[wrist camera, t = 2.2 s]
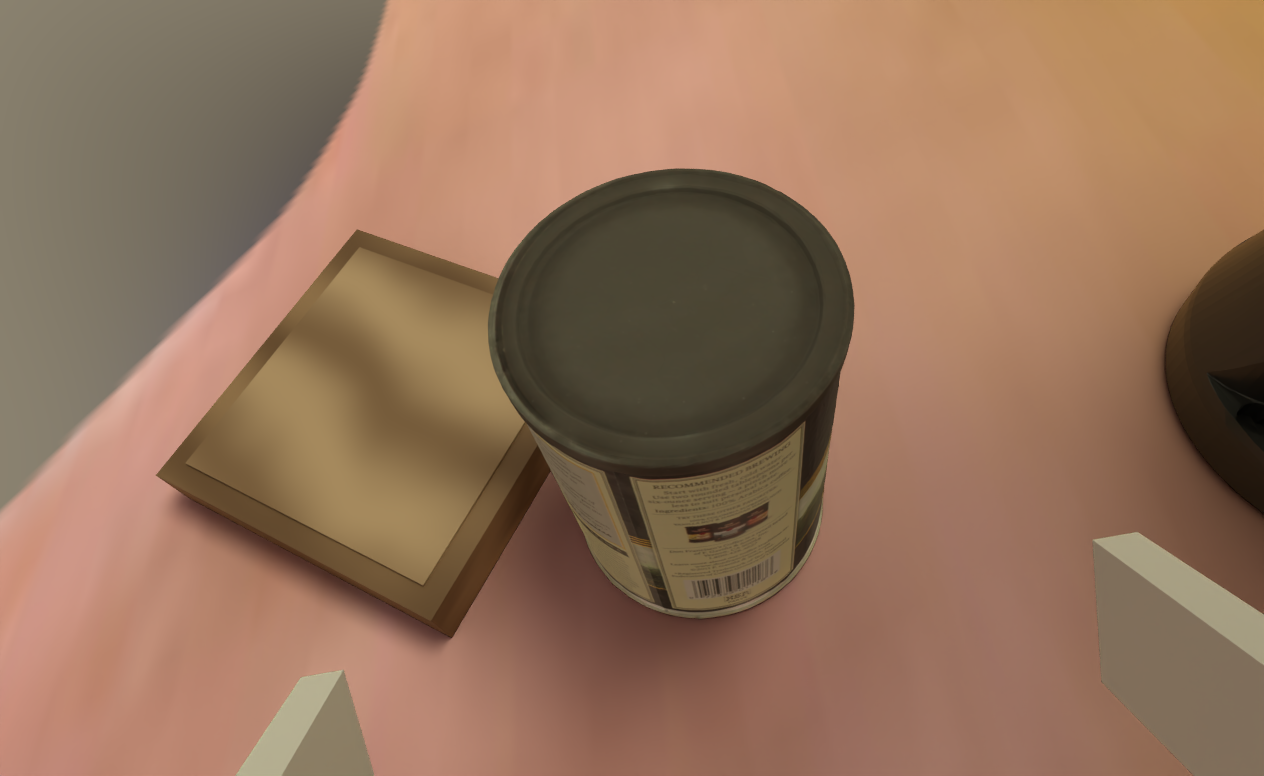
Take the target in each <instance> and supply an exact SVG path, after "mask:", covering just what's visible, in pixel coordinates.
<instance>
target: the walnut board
mask: <svg viewBox="0 0 1264 776" xmlns="http://www.w3.org/2000/svg"><path fill="white" fill-rule="evenodd" d="M497 281H498V278H496V277H493V276H490V275H487V274H484V273H481V272H478V271H475V270H472V269H470V268H467V267H464V266H461V265H458V264H455V263H452V262H449V261H447V260H444V259H441V258H438V257H435V256H432V255H429V254H426V253H423V252H421V251H418V250H415V249H412V248H409V247H406V246H403V245H400V244H398V243H395V242H392V241H389V240H386V239H383V238H380V237H377V236H374V235H372V234H369V233H366V232H363V231H360V230H356V231H355V232H354V234H353V235H352V236H351V237H350V239H349V240H348V241H347V242H346V243H345V245H344V246H343V247H342V248H341V250H340V251H339V252H338V253H337V254H336V256H335V257H334V258H333V259H332V261H331V262H330V263H329V264H328V265H327V267H326V268H325V269H324V270H323V272H322V273H321V274H320V275H319V276H318V278H317V279H316V280H315V281H314V283H313V284H312V285H311V286H310V287H309V289H308V290H307V291H306V292H305V294H304V295H303V296H302V297H301V298H300V300H299V301H298V302H297V303H296V305H295V306H294V307H293V308H292V310H291V311H290V312H289V313H288V314H287V316H286V317H285V318H284V319H283V321H282V322H281V323H280V324H279V325H278V327H277V328H276V329H275V330H274V332H273V333H272V334H271V335H270V336H269V338H268V339H267V340H266V341H265V343H264V344H263V345H262V346H261V347H260V349H259V350H258V351H257V352H256V354H255V355H254V356H253V357H252V358H251V360H250V361H249V362H248V363H247V365H246V366H245V367H244V368H243V369H242V371H241V372H240V373H239V374H238V376H237V377H236V378H235V379H234V380H233V382H232V383H231V384H230V385H229V387H228V388H227V389H226V390H225V391H224V393H223V394H222V395H221V396H220V398H219V399H218V400H217V401H216V402H215V404H214V405H213V406H212V407H211V409H210V410H209V411H208V412H207V413H206V415H205V416H204V417H203V418H202V420H201V421H200V422H199V423H198V424H197V426H196V427H195V428H194V429H193V431H192V432H191V433H190V434H189V435H188V437H187V438H186V439H185V440H184V442H183V443H182V444H181V445H180V446H179V448H178V449H177V450H176V451H175V453H174V454H173V455H172V456H171V457H170V459H169V460H168V461H167V462H166V464H165V465H164V466H163V467H162V468H161V470H160V471H159V472H158V473H157V475H156V476H158V477H159V478H161V479H162V480H163V481H165V482H166V483H168V484H169V485H171V486H172V487H174V488H175V489H177V490H178V491H180V492H181V493H183V494H184V495H185V496H187V497H188V498H190V499H192V500H194V501H196V502H198V503H199V504H201V505H203V506H205V507H207V508H209V509H211V510H213V511H214V512H216V513H218V514H220V515H222V516H224V517H226V518H228V519H229V520H231V521H233V522H235V523H237V524H239V525H241V526H243V527H244V528H246V529H248V530H250V531H252V532H254V533H256V534H258V535H259V536H261V537H263V538H265V539H267V540H269V541H271V542H273V543H274V544H276V545H278V546H280V547H282V548H284V549H286V550H288V551H289V552H291V553H293V554H295V555H297V556H299V557H301V558H303V559H304V560H306V561H308V562H310V563H312V564H314V565H316V566H318V567H320V568H321V569H323V570H325V571H327V572H329V573H331V574H333V575H335V576H336V577H338V578H340V579H342V580H344V581H346V582H348V583H350V584H351V585H353V586H355V587H357V588H359V589H361V590H363V591H365V592H366V593H368V594H370V595H372V596H374V597H376V598H378V599H380V600H381V601H383V602H385V603H387V604H389V605H391V606H393V607H395V608H396V609H398V610H400V611H402V612H404V613H406V614H408V615H410V616H411V617H413V618H415V619H417V620H419V621H421V622H423V623H425V624H426V625H428V626H430V627H432V628H434V629H436V630H438V631H440V632H442V633H443V634H445V635H447V636H449V637H451V638H452V637H453V635H454V633H455V632H456V630H457V628H458V626H459V625H460V623H461V621H462V620H463V618H464V616H465V615H466V613H467V611H468V609H469V608H470V606H471V604H472V603H473V601H474V599H475V598H476V596H477V594H478V593H479V591H480V589H481V587H482V586H483V584H484V582H485V581H486V579H487V577H488V576H489V574H490V572H491V570H492V569H493V567H494V565H495V564H496V562H497V560H498V559H499V557H500V555H501V554H502V552H503V550H504V548H505V547H506V545H507V543H508V542H509V540H510V538H511V537H512V535H513V533H514V531H515V530H516V528H517V526H518V525H519V523H520V521H521V520H522V518H523V516H524V515H525V513H526V511H527V509H528V508H529V506H530V504H531V503H532V501H533V499H534V498H535V496H536V494H537V492H538V491H539V489H540V487H541V486H542V484H543V482H544V481H545V479H546V477H547V476H548V474H549V472H550V470H551V469H550V467H549V466H548V464H547V462H546V460H545V458H544V456H543V454H542V452H541V450H540V448H539V446H538V444H537V443H536V441H535V439H534V437H533V435H532V433H531V431H530V429H529V427H528V425H527V423H526V422H525V421H524V420H523V419H522V418H521V416H520V415H519V414H518V412H517V411H516V409H515V408H514V406H513V405H512V403H511V402H510V400H509V398H508V396H507V395H506V393H505V392H504V390H503V388H502V386H501V384H500V382H499V379H498V377H497V375H496V373H495V370H494V367H493V364H492V360H491V356H490V350H489V343H488V317H489V311H490V305H491V299H492V297H493V294H494V290H495V286H496V284H497Z"/></svg>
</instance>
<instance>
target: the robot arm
mask: <svg viewBox="0 0 1264 776" xmlns="http://www.w3.org/2000/svg"><path fill="white" fill-rule="evenodd" d="M1166 375H1167V382H1168V387H1169V391H1170V395H1171V398H1172V401H1173V404H1174V407H1175V409H1176V412H1177V414H1178V416H1179V418H1180V420H1181V422H1182V424H1183V426H1184V428H1185V430H1186V432H1187V433H1188V435H1189V437H1190V438H1191V440H1192V441H1193V443H1194V444H1195V446H1196V447H1197V449H1198V450H1199V452H1200V453H1201V454H1202V455H1203V457H1204V458H1205V459H1206V460H1207V462H1208V463H1209V464H1210V465H1211V466H1212V467H1213V469H1214V470H1215V471H1216V472H1217V473H1218V474H1219V475H1220V476H1221V477H1222V478H1223V479H1224V480H1225V481H1226V482H1227V483H1228V484H1229V485H1230V486H1231V487H1232V488H1233V489H1234V490H1235V491H1237V492H1238V493H1239V494H1240V495H1241V496H1242V497H1243V498H1245V499H1246V500H1247V501H1248V502H1250V503H1251V504H1252V505H1254V506H1255V507H1256V508H1257V509H1259V510H1260V511H1262V512H1263V513H1264V230H1262V231H1261V232H1259V233H1257V234H1256V235H1254V236H1252V237H1251V238H1249V239H1247V240H1246V241H1244V242H1242V243H1241V244H1239V245H1237V246H1236V247H1234V248H1233V249H1232V250H1230V251H1229V252H1228V253H1227V254H1225V255H1224V256H1223V257H1222V258H1221V259H1220V260H1219V261H1218V262H1217V263H1216V264H1214V265H1213V266H1212V267H1211V268H1210V270H1209V271H1208V272H1207V273H1206V274H1205V275H1204V277H1203V278H1202V279H1201V281H1200V282H1199V284H1198V285H1197V286H1196V288H1195V289H1194V290H1193V292H1192V293H1191V295H1190V296H1189V297H1188V299H1187V300H1186V301H1185V303H1184V304H1183V306H1182V307H1181V308H1180V310H1179V312H1178V314H1177V316H1176V317H1175V320H1174V322H1173V324H1172V327H1171V330H1170V333H1169V336H1168V341H1167V347H1166ZM1092 541H1093V557H1094V572H1095V588H1096V604H1097V620H1098V636H1099V652H1100V667H1101V682H1102V683H1103V684H1104V685H1105V686H1106V687H1107V688H1108V689H1109V690H1110V691H1111V692H1112V693H1113V694H1114V695H1115V696H1116V697H1117V698H1118V699H1119V700H1120V701H1121V702H1122V703H1123V704H1124V705H1125V706H1126V707H1127V708H1128V709H1129V710H1130V711H1131V712H1132V714H1133V715H1134V716H1135V717H1136V718H1137V719H1138V720H1139V721H1140V722H1141V723H1142V724H1143V725H1144V726H1145V727H1146V728H1147V729H1148V730H1149V731H1150V732H1151V733H1152V734H1153V735H1154V736H1155V737H1156V738H1157V739H1158V740H1159V741H1160V742H1161V743H1162V744H1163V745H1164V746H1165V747H1166V748H1167V749H1168V750H1169V751H1170V752H1171V753H1172V754H1173V755H1174V756H1175V757H1176V758H1177V759H1178V760H1179V761H1180V762H1181V763H1182V764H1183V765H1184V766H1185V767H1186V768H1187V769H1188V770H1189V771H1190V772H1191V773H1192V774H1193V775H1194V776H1264V614H1262V613H1261V612H1259V611H1258V610H1256V609H1255V608H1253V607H1251V606H1250V605H1248V604H1247V603H1245V602H1244V601H1242V600H1241V599H1239V598H1238V597H1236V596H1235V595H1233V594H1232V593H1230V592H1228V591H1227V590H1225V589H1224V588H1222V587H1221V586H1219V585H1218V584H1216V583H1215V582H1213V581H1212V580H1210V579H1209V578H1207V577H1206V576H1204V575H1202V574H1201V573H1199V572H1198V571H1196V570H1195V569H1193V568H1192V567H1190V566H1189V565H1187V564H1186V563H1184V562H1183V561H1181V560H1179V559H1178V558H1176V557H1175V556H1173V555H1172V554H1170V553H1169V552H1167V551H1166V550H1164V549H1163V548H1161V547H1160V546H1158V545H1157V544H1155V543H1153V542H1152V541H1150V540H1149V539H1147V538H1146V537H1144V536H1143V535H1141V534H1140V533H1138V532H1135V533H1129V534H1123V535H1117V536H1112V537H1106V538H1100V539H1094V540H1092ZM236 776H374V772H373V769H372V765H371V762H370V758H369V755H368V752H367V748H366V745H365V741H364V738H363V735H362V731H361V728H360V724H359V721H358V717H357V714H356V711H355V707H354V704H353V700H352V697H351V693H350V690H349V687H348V683H347V680H346V676H345V673H344V670H340V671H334V672H328V673H322V674H317V675H311V676H305V677H301V678H300V680H299V681H298V683H297V684H296V686H295V687H294V689H293V690H292V692H291V693H290V695H289V696H288V698H287V699H286V701H285V702H284V704H283V705H282V707H281V708H280V710H279V711H278V713H277V714H276V716H275V717H274V719H273V720H272V722H271V723H270V725H269V726H268V728H267V729H266V731H265V732H264V734H263V735H262V737H261V738H260V740H259V741H258V743H257V744H256V746H255V747H254V749H253V750H252V752H251V753H250V755H249V756H248V758H247V759H246V761H245V762H244V764H243V765H242V767H241V768H240V770H239V771H238V773H237V774H236Z"/></svg>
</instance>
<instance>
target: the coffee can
mask: <svg viewBox="0 0 1264 776" xmlns="http://www.w3.org/2000/svg"><path fill="white" fill-rule="evenodd" d="M853 321H854V297H853V289H852V283H851V278H850V274H849V271H848V269H847V265H846V262H845V260H844V258H843V256H842V253H841V251H840V249H839V247H838V245H837V244H836V242H835V240H834V239H833V238H832V236H831V235H830V234H829V232H828V231H827V229H826V228H825V227H824V226H823V225H822V224H821V223H820V222H819V221H818V220H817V219H816V218H815V216H813V215H812V214H811V213H810V212H809V211H808V210H806V209H805V208H804V207H803V206H801V205H800V204H798V203H797V202H796V201H794V200H793V199H791V198H790V197H788V196H787V195H785V194H783V193H782V192H780V191H777V190H775V189H773V188H771V187H770V186H768V185H766V184H763V183H761V182H758V181H756V180H753V179H749V178H746V177H743V176H739V175H735V174H731V173H727V172H720V171H714V170H703V169H666V170H657V171H649V172H644V173H639V174H634V175H630V176H626V177H622V178H618V179H615V180H612V181H609V182H607V183H604V184H601V185H599V186H597V187H594V188H592V189H590V190H588V191H586V192H584V193H581V194H580V195H578V196H576V197H575V198H573V199H572V200H569V201H568V202H566V203H565V204H563V205H561V206H560V207H558V208H557V209H556V210H554V211H553V212H551V213H550V214H549V215H548V216H547V217H546V218H544V219H543V220H542V221H541V222H539V223H538V224H537V225H536V226H535V227H534V228H533V229H532V230H531V231H530V232H529V233H528V234H527V236H526V237H525V238H524V239H523V240H522V242H521V243H520V244H519V245H518V247H517V248H516V249H515V250H514V252H513V253H512V255H511V256H510V258H509V259H508V261H507V263H506V265H505V267H504V268H503V270H502V272H501V275H500V277H499V279H498V281H497V284H496V286H495V290H494V294H493V297H492V299H491V305H490V311H489V317H488V343H489V350H490V356H491V360H492V364H493V367H494V370H495V373H496V375H497V377H498V379H499V382H500V384H501V386H502V388H503V390H504V392H505V393H506V395H507V396H508V398H509V400H510V402H511V403H512V405H513V406H514V408H515V409H516V411H517V412H518V414H519V415H520V416H521V418H522V419H523V420H524V421H525V422H526V423H527V425H528V427H529V429H530V431H531V433H532V435H533V437H534V439H535V441H536V443H537V444H538V446H539V448H540V450H541V452H542V454H543V456H544V458H545V460H546V462H547V464H548V466H549V467H550V469H551V471H552V473H553V475H554V477H555V479H556V481H557V483H558V485H559V487H560V489H561V491H562V493H563V495H564V497H565V499H566V501H567V502H568V504H569V506H570V508H571V510H572V512H573V514H574V516H575V518H576V520H577V522H578V524H579V526H580V528H581V529H582V531H583V533H584V535H585V539H586V542H587V545H588V547H589V549H590V551H591V554H592V556H593V557H594V559H595V561H596V563H597V564H598V566H599V567H600V568H601V570H602V571H603V572H604V574H605V575H606V576H607V577H608V579H609V580H610V581H611V583H612V584H613V585H615V586H616V587H617V588H619V589H620V590H621V591H623V592H624V593H625V594H626V595H627V596H629V597H630V598H632V599H633V600H635V601H637V602H639V603H640V604H642V605H644V606H646V607H648V608H651V609H653V610H656V611H659V612H662V613H665V614H669V615H674V616H679V617H687V618H698V619H703V618H711V617H718V616H725V615H729V614H733V613H736V612H740V611H743V610H746V609H748V608H751V607H753V606H755V605H757V604H759V603H761V602H763V601H765V600H766V599H768V598H769V597H771V596H773V595H774V594H775V593H777V592H778V591H779V590H780V589H782V588H783V587H784V586H785V585H786V584H788V583H789V582H790V581H791V580H792V579H793V578H794V577H795V576H796V574H797V573H798V571H799V570H800V569H801V567H802V566H803V565H804V563H805V562H806V560H807V558H808V557H809V555H810V553H811V551H812V549H813V547H814V544H815V542H816V539H817V536H818V533H819V529H820V525H821V519H822V509H823V493H824V482H825V476H826V468H827V461H828V454H829V447H830V440H831V433H832V426H833V421H834V413H835V407H836V399H837V392H838V387H839V378H840V371H841V369H842V366H843V363H844V361H845V358H846V355H847V351H848V348H849V344H850V340H851V336H852V330H853Z"/></svg>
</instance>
